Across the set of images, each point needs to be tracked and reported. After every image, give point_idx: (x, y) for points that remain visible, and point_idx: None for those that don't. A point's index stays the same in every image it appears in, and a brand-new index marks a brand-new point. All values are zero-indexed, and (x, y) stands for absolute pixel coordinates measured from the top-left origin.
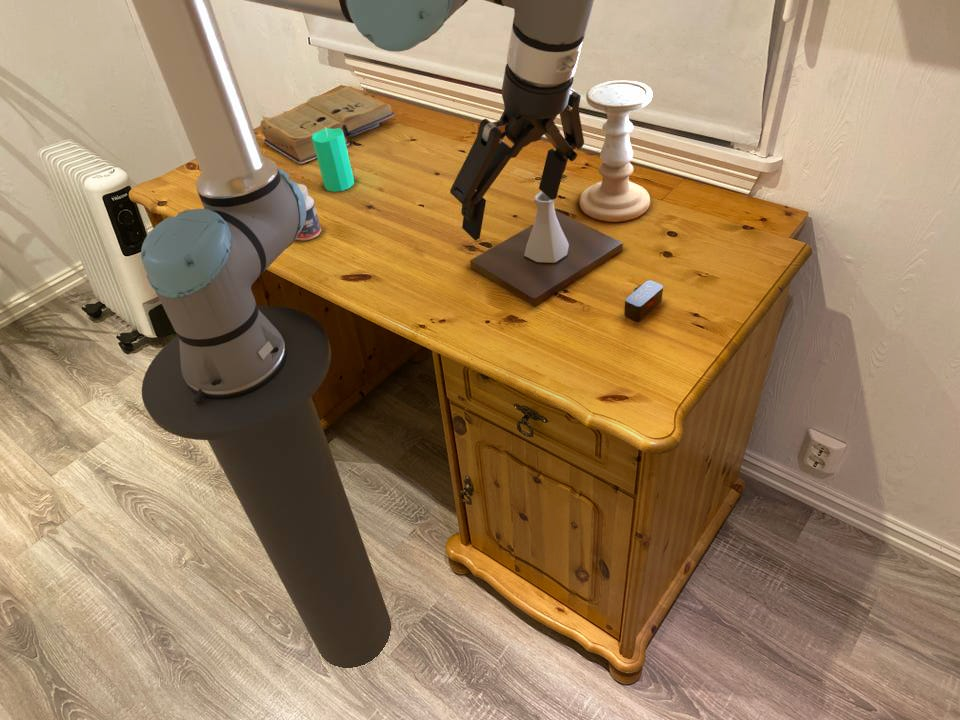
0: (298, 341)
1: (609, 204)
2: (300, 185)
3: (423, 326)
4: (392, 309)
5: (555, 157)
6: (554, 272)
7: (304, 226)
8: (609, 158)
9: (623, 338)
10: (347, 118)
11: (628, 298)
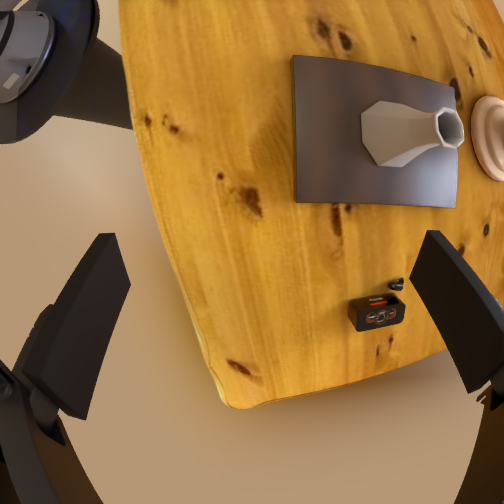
0: (63, 49)
1: (492, 148)
2: None
3: (148, 122)
4: (143, 64)
5: (486, 373)
6: (362, 179)
7: None
8: None
9: (318, 322)
10: None
11: (363, 313)
